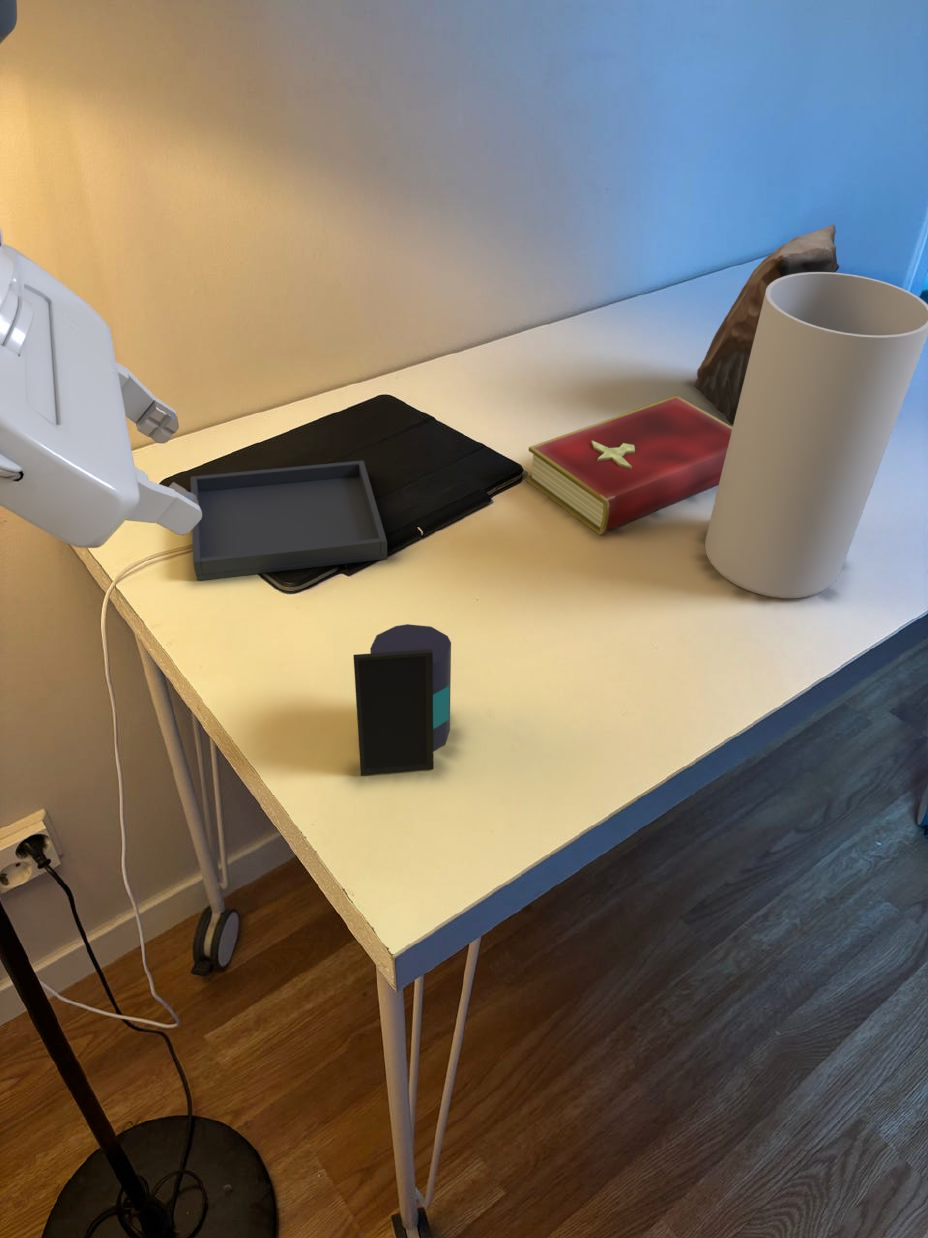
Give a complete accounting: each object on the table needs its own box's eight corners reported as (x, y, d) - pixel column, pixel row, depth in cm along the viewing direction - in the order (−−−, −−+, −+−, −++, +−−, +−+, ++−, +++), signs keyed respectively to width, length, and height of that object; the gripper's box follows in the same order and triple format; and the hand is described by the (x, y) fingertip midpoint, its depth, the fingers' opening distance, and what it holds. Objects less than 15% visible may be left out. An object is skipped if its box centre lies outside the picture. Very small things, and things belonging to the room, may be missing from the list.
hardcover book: (750, 474, 101) (759, 439, 99) (602, 537, 92) (608, 500, 89) (670, 426, 109) (677, 392, 106) (525, 480, 99) (529, 444, 96)
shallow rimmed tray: (196, 581, 85) (193, 562, 84) (193, 494, 95) (190, 476, 94) (387, 559, 88) (387, 540, 87) (364, 477, 99) (363, 460, 97)
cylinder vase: (867, 585, 87) (970, 324, 71) (752, 615, 84) (833, 346, 67) (785, 512, 96) (860, 264, 80) (678, 535, 92) (734, 281, 76)
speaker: (436, 788, 68) (434, 673, 62) (358, 776, 69) (349, 661, 63) (459, 720, 74) (459, 609, 68) (387, 710, 75) (382, 599, 69)
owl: (792, 383, 118) (839, 216, 105) (825, 434, 108) (881, 258, 95) (691, 381, 117) (726, 213, 104) (716, 433, 108) (756, 256, 95)
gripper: (-46, 365, 35) (252, 537, 44) (-29, 194, 49) (192, 350, 58) (-136, 487, 36) (168, 629, 46) (-94, 287, 51) (131, 425, 60)
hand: (181, 471), depth 52 cm, fingers open, 8 cm apart
